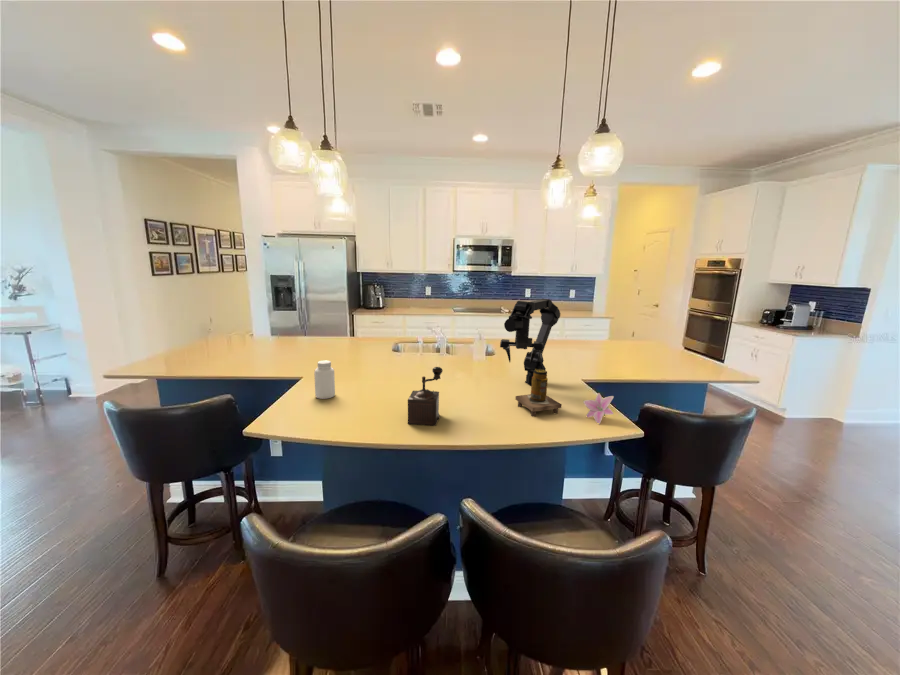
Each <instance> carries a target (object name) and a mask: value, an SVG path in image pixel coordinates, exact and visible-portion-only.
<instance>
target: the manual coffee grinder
mask: <svg viewBox="0 0 900 675" xmlns="http://www.w3.org/2000/svg"><path fill="white" fill-rule="evenodd" d="M432 373H433V378H427V379H426V376H421V379H422V380H421V382H422V389H420V390H412V392H411V394H410V396H409V397H408V398H407V424H408V425H414V426H431V427H436V426H437V424H438V422H439V420H440V414H439V410H440V409H439V408H440V404H439V403H440V402H439V401H440V391H436V390H435V391H434V390H429V389H426V383H427V382H432V381H438V380H441V374H442V373H443V369H442V367H440V366H434V367H433V368H432Z"/></svg>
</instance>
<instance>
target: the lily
mask: <svg viewBox="0 0 900 675" xmlns="http://www.w3.org/2000/svg"><path fill="white" fill-rule="evenodd" d="M614 397H615V396H614V395H610V396H606V397H603V398H602V395H601V393H600V392H598V393H597V394H596V396H595V399H586V400H583V404H584V405H585V407H587V409H588V412H587V414H586V415H585V417H586V416H587V417H588V418H591V417H593V418H594V421H595V423H596V422H597V423H599V425H600V424H601V422H602V419H603V417H604V416H605V417H606V415H607V416H608V415H614V412H613V411H612V409H611V408H610V407H609V405H610V404H611V402H612V401H613V399H614ZM597 423H596V424H597Z"/></svg>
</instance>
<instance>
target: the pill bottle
mask: <svg viewBox="0 0 900 675" xmlns="http://www.w3.org/2000/svg"><path fill="white" fill-rule="evenodd" d="M335 383H336V382H335V369H334V368H333V367H332V361H331V360H326V359H325V360H318V362H317V367H316V368H315V370H314V394H315V396H314V397H316V398H317V399H321V400H322V399H323V400H324V399H325V400H326V399H331V398H333V397H335V394H336V386H335V385H336V384H335Z"/></svg>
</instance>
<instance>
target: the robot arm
mask: <svg viewBox="0 0 900 675" xmlns="http://www.w3.org/2000/svg"><path fill="white" fill-rule="evenodd" d="M538 310H539V313H540V315H541V316H540V319H541V325H540V328H539V331H538V334H537V337H536V340H533V337H529V334H530V320H532V319H533V316H532V314H534V313H535V311H538ZM560 317H561V311H560V309H559V307H558V306H557V305H555V304H554V303H553V302H552V299H550V298H540V299H538V300H537V299H536V300H531V301H525V300H517V301H516V303H515V305H514V306H513V308H512V311H511V313H510V314H509V316H508V318H507V319H506V320H505V321H504V325H503V326H504V329H505V330H506V331H507V332H508V333H512V332H515V339H514V341H510V339H505V338H504V339H503V338H502V339H501V340H500V343H499V344H500V345H499V348H501V349H503V350H504V351H505V352H506V354H507V358H508V361H509V363H511V360H512V358H511V347H515V349H518V350H519V349H520V350H528V348H532V350H531V351H527V352H526V355H525V357H524V360H523V368H524V369H523V370H524V371H526V372H527V373H526V375H525V376H526V377H525V380H524V383H526V384H527V385H529V386H530V387H531V386H532V377H533V374H534V370H536V369H542V370H546V369H547V368H546V367H545V365H544V361H545V360H544V357H543V356H544V355H543V353H544V351H545V348H546V344H547V341H548V339H549V336H550V333H551V330H552V328H553V327H554V326H555V325H556V324H558V322H559V319H560ZM546 371H547V370H546Z"/></svg>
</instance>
